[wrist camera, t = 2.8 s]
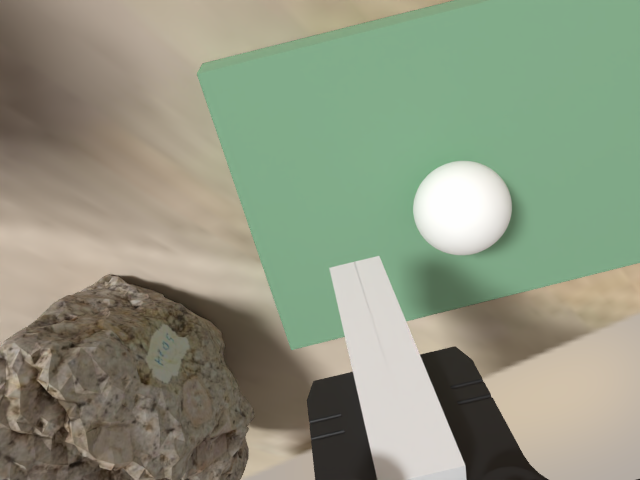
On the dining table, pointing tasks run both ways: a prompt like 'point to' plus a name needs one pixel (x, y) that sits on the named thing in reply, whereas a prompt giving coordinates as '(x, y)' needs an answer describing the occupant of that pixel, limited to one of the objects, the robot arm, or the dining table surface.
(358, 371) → the robot arm
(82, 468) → the rock
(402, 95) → the putting mat
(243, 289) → the dining table surface
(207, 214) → the dining table surface
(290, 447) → the dining table surface
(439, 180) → the white ball
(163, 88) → the dining table surface
